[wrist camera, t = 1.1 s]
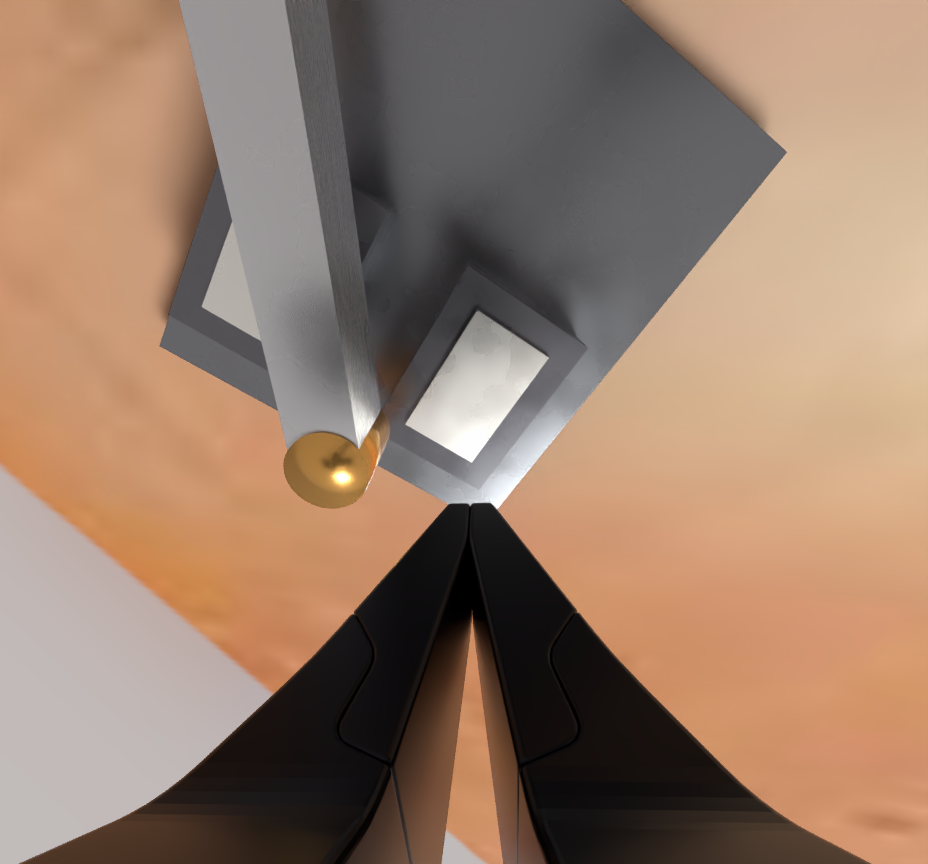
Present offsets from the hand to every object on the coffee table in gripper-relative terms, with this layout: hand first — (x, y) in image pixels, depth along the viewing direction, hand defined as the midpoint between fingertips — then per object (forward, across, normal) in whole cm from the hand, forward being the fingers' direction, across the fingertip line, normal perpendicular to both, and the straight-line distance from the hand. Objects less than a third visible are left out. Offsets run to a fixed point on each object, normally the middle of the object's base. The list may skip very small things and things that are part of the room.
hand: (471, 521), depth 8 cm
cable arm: (+7, +4, -7) cm, 10 cm away
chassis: (+11, +1, -4) cm, 12 cm away
